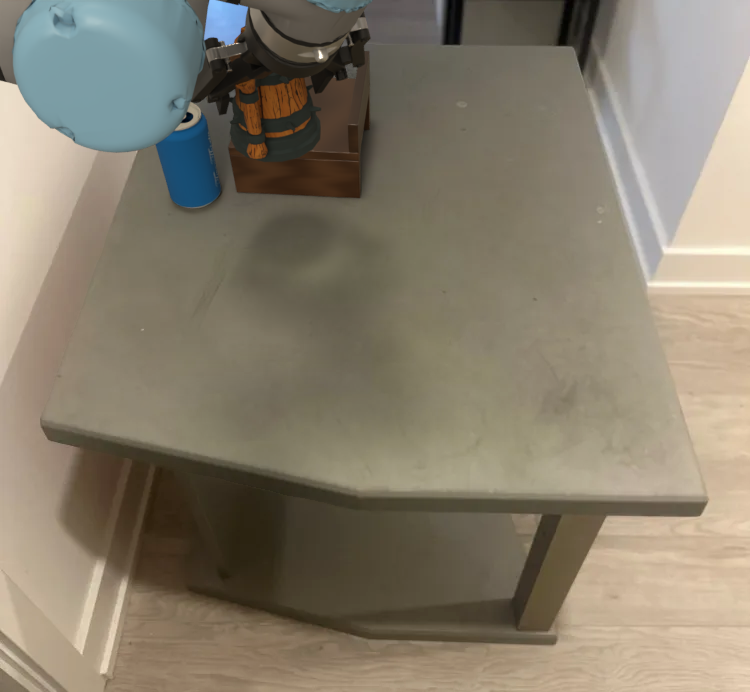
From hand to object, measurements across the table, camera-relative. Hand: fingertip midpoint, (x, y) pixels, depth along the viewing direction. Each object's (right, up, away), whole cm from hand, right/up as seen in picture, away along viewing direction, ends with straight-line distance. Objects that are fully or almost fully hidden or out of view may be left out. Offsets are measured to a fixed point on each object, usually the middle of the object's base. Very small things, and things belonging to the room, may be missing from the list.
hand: (267, 90), depth 76 cm
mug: (0, -5, +1) cm, 5 cm away
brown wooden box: (+2, -1, +23) cm, 24 cm away
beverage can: (-12, -7, +19) cm, 23 cm away
